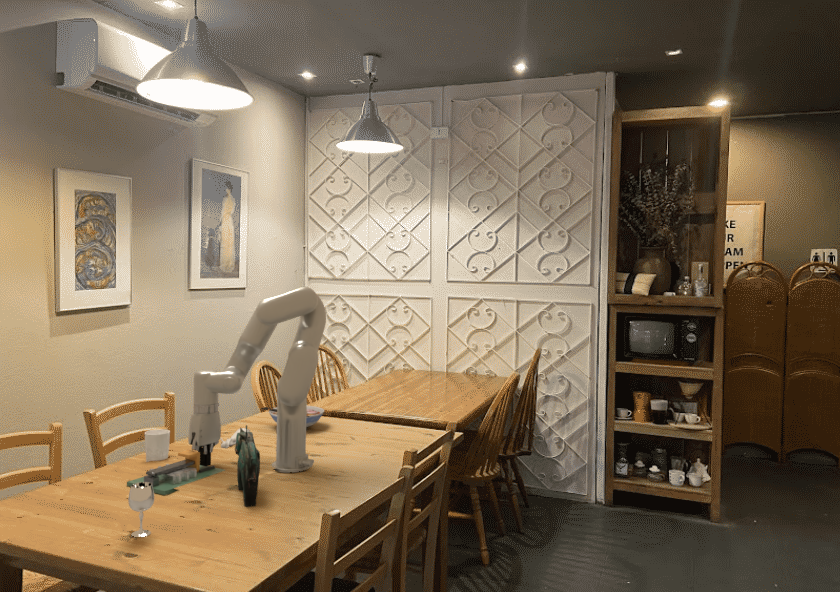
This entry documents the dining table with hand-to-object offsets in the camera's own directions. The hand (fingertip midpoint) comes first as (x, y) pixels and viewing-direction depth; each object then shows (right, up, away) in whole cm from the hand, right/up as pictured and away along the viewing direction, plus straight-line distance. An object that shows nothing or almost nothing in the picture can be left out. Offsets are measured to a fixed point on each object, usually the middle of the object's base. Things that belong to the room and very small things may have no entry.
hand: (205, 465), depth 208 cm
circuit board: (-5, -2, -10) cm, 11 cm away
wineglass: (+1, -4, -51) cm, 51 cm away
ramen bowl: (+18, -1, +61) cm, 63 cm away
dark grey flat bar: (-6, +2, -12) cm, 14 cm away
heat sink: (-7, -1, -13) cm, 15 cm away
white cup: (-19, -1, +9) cm, 21 cm away
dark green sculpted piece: (+20, -3, -22) cm, 30 cm away
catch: (-3, -1, -6) cm, 7 cm away
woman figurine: (-1, -1, +35) cm, 35 cm away
